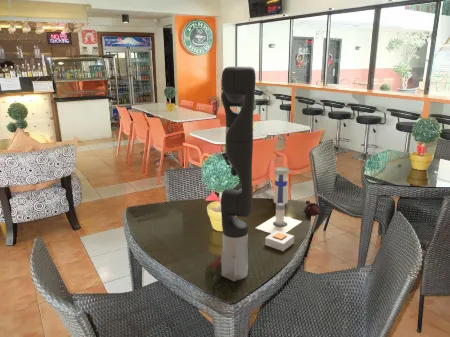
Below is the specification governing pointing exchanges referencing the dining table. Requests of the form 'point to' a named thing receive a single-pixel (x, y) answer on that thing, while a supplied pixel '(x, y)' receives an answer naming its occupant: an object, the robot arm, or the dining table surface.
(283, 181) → the water bottle
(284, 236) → the button
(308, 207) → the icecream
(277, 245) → the button housing
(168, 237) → the dining table surface
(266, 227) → the paper
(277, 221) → the salt shaker
